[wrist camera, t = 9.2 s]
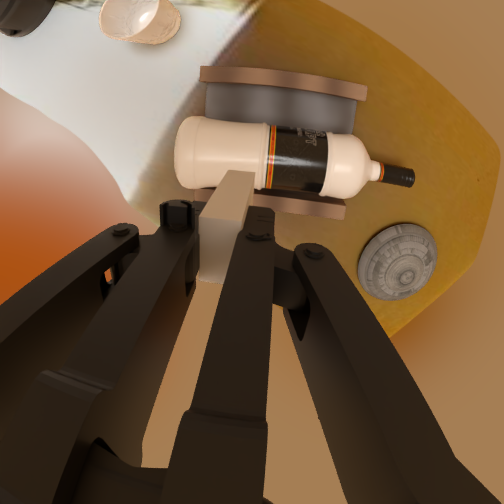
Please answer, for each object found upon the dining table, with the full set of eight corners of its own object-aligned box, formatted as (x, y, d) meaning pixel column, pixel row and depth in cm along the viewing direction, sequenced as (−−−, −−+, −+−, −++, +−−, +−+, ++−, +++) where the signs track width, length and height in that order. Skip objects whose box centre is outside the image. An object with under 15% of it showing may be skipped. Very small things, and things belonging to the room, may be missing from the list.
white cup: (193, 6, 29) (170, -16, 20) (172, 53, 33) (143, 43, 24) (146, -2, 28) (114, -20, 19) (127, 43, 32) (90, 35, 23)
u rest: (202, 190, 43) (194, 202, 39) (209, 69, 34) (200, 66, 29) (336, 206, 42) (343, 220, 38) (357, 87, 33) (367, 86, 29)
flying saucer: (435, 213, 41) (450, 228, 37) (430, 286, 48) (441, 304, 44) (352, 228, 44) (360, 245, 39) (358, 301, 51) (364, 322, 46)
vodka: (167, 180, 30) (429, 209, 30) (179, 103, 30) (427, 136, 29) (187, 193, 40) (396, 214, 39) (195, 130, 39) (397, 154, 39)
